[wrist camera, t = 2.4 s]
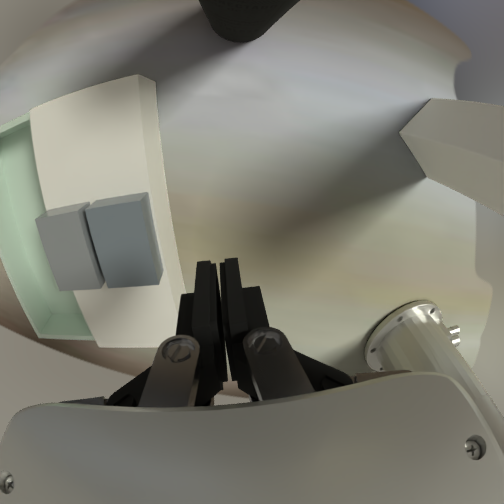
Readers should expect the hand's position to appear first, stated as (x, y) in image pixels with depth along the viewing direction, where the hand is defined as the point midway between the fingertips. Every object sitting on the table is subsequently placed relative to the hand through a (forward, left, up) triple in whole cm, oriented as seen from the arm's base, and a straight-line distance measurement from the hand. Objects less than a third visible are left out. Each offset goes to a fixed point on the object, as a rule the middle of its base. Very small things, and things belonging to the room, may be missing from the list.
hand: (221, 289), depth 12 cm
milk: (-20, -6, -14) cm, 25 cm away
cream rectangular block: (+9, 0, -13) cm, 16 cm away
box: (+18, 0, -13) cm, 22 cm away
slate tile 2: (+11, 0, -8) cm, 14 cm away
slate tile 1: (+7, 0, -8) cm, 11 cm away
